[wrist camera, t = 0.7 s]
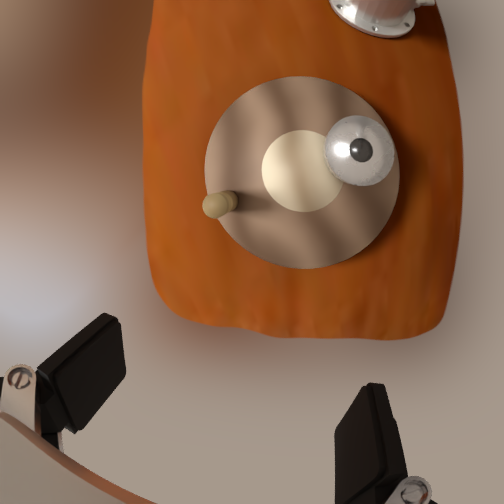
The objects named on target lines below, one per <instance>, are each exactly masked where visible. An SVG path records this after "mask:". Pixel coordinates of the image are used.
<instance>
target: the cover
mask: <svg viewBox="0 0 504 504" xmlns="http://www.w3.org/2000/svg"><path fill="white" fill-rule="evenodd" d="M322 152H323V159H324V162H325V164H326V166H327V168H328V170H329V171H330V172H331V174H332V175H333V176H335V177H336V178H337V179H339V180H340V181H342V182H345V183H348V184H352V185H357V186H369V185H373V184H376V183H378V182H380V181H381V180H382V179H384V178H385V177H386V176H387V175H388V173H389V172H390V170H391V168H392V165H393V162H394V146H393V143H392V140H391V138H390V136H389V134H388V132H387V131H386V130H385V128H384V127H383V126H382V125H380V124H379V123H378V122H376V121H375V120H373V119H371V118H368V117H365V116H357V115H355V116H349V117H345V118H343V119H341V120H339V121H338V122H337V123H336V124H335V125H334V126H333V127H332V128H331V130H330V131H329V133H328V134H327V136H326V137H325V140H324V143H323V150H322Z"/></svg>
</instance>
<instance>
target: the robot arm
mask: <svg viewBox="0 0 504 504" xmlns="http://www.w3.org/2000/svg"><path fill="white" fill-rule="evenodd" d="M329 2H330V4H331V7H332V8H333V10H334V11H335V13H336V14H337V15H338V16H339V17H340V18H341V19H342V20H344V21H345V22H346V23H348V24H349V25H351V26H352V27H354V28H356V29H358V30H360V31H362V32H364V33H367V34H370V35H373V36H377V37H384V38H396V37H400V36H403V35H405V34H407V33H408V32H409V31H410V30H411V28H412V27H413V26H414V23H415V13H414V8H418V7H420V5H423V6H434V5H435V1H434V0H329ZM37 369H38V370H37V371H36V372H34V370H33V369H32V368H31V367H30V366H27V365H23V364H19V365H15V366H12V367H11V368H9V369H8V370H7V372H6V373H5V376H4V377H0V504H156V503H154V502H151V501H149V500H147V499H144V498H142V497H140V496H138V495H135V494H133V493H131V492H129V491H127V490H125V489H122V488H121V487H119V486H117V485H115V484H113V483H111V482H109V481H107V480H105V479H104V478H102V477H100V476H98V475H96V474H95V473H93V472H92V471H90V470H88V469H87V468H85V467H84V466H82V465H80V464H79V463H77V462H76V461H74V460H73V459H71V458H70V457H68V456H67V455H65V454H64V450H63V443H62V433H61V431H62V430H63V429H64V428H66V429H68V430H69V431H71V432H72V433H74V434H75V433H76V432H77V431H78V430H82V429H83V428H84V427H85V426H86V425H87V424H88V422H89V421H90V420H91V419H92V417H93V416H94V415H95V413H96V412H97V411H98V410H99V409H100V407H101V406H102V405H103V404H104V402H105V401H106V400H107V399H108V397H109V396H110V395H111V394H112V392H113V391H114V390H115V389H116V387H117V386H118V385H119V384H120V382H121V381H122V380H123V379H124V377H125V375H126V366H125V359H124V350H123V341H122V331H121V324H120V323H119V322H118V319H117V318H116V317H114V316H112V315H109V314H107V313H103V314H101V315H100V316H99V317H97V318H96V319H95V320H94V321H92V322H91V323H90V324H89V325H87V326H86V327H85V328H84V329H82V330H81V331H80V332H79V333H78V334H76V335H75V336H74V337H72V338H71V339H70V340H69V341H68V342H66V343H65V344H64V345H63V346H62V347H60V348H59V349H58V350H57V351H56V352H54V353H53V354H52V355H51V356H50V357H49V358H47V359H46V360H45V361H44V362H43V363H42V364H40V365H39V366H38V367H37ZM334 438H335V504H437V503H436V502H434V501H432V500H431V496H432V490H431V487H430V485H429V483H428V482H427V481H426V480H425V479H424V478H421V477H419V476H410V477H408V473H407V468H406V463H405V458H404V453H403V449H402V444H401V440H400V435H399V431H398V427H397V424H396V421H395V419H394V418H393V415H392V411H391V407H390V403H389V400H388V396H387V392H386V388H385V386H384V384H378V383H368V384H367V385H366V386H363V387H362V388H361V390H360V392H359V393H358V395H357V396H356V398H355V400H354V401H353V403H352V404H351V406H350V408H349V409H348V411H347V412H346V414H345V415H344V417H343V418H342V420H341V422H340V423H339V424H338V426H337V427H336V430H335V435H334Z"/></svg>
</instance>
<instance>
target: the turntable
mask: <svg viewBox="0 0 504 504" xmlns="http://www.w3.org/2000/svg"><path fill="white" fill-rule="evenodd" d="M355 115H357V116H365V117H368V118H371V119H373V120H375V121H376V122H378V123H379V124H380V125H382V126H383V127H384V128H385V130H386V131H387V132H388V134H389V136H390V138H391V140H392V143H393V146H394V162H393V165H392V168H391V170H390V172H389V173H388V175H387V176H386V177H385V178H384V179H382V180H381V181H380V182H378V183H376V184H373V185H369V186H357V185H352V184H348V183H345V182H342V181H340V180H339V179H337V178H336V177H335V176H333V175H332V174H331V172H330V171H329V170H328V168H327V166H326V164H325V162H324V159H323V152H322V150H323V143H324V140H325V137H326V136H327V134H328V133H329V131H330V130H331V128H332V127H333V126H334V125H335V124H336V123H337V122H338V121H339V120H341V119H343V118H345V117H349V116H355ZM399 179H400V176H399V162H398V156H397V151H396V148H395V145H394V142H393V139H392V137H391V135H390V133H389V131H388V128H387V127H386V125H385V124H384V122H383V121H382V119H381V117H380V116H379V115H378V114H377V113H376V111H375V110H374V109H373V108H372V107H371V106H370V105H369V104H368V103H367V102H366V101H365V100H363V99H362V98H361V97H359V96H358V95H357V94H355V93H354V92H352V91H351V90H349V89H347V88H345V87H343V86H341V85H339V84H336V83H333V82H331V81H328V80H324V79H319V78H314V77H304V76H298V77H285V78H280V79H275V80H272V81H269V82H266V83H263V84H261V85H259V86H257V87H254V88H252V89H251V90H249V91H248V92H246V93H245V94H243V95H242V96H240V97H239V98H238V99H237V100H236V101H235V102H234V103H232V104H231V106H230V107H229V108H228V109H227V110H226V111H225V112H224V114H223V115H222V117H221V118H220V120H219V121H218V123H217V124H216V126H215V128H214V130H213V133H212V135H211V138H210V141H209V144H208V147H207V152H206V158H205V182H206V188H207V193H208V196H206V198H205V199H204V201H203V210H204V212H205V214H206V215H207V216H209V217H210V218H218V220H219V221H220V223H221V224H222V226H223V227H224V229H225V230H226V231H227V232H228V233H229V234H230V236H231V237H232V238H233V239H234V240H235V241H236V242H237V243H239V244H240V245H241V246H242V247H243V248H245V249H246V250H247V251H249V252H250V253H252V254H253V255H255V256H257V257H259V258H261V259H263V260H265V261H268V262H271V263H273V264H276V265H280V266H284V267H289V268H298V269H312V268H320V267H326V266H329V265H333V264H336V263H339V262H341V261H344V260H346V259H348V258H350V257H352V256H353V255H355V254H357V253H359V252H360V251H361V250H363V249H364V248H365V247H366V246H368V245H369V244H370V243H371V242H372V241H373V240H374V239H375V238H376V237H377V236H378V234H379V233H380V232H381V230H382V229H383V228H384V226H385V225H386V223H387V221H388V219H389V217H390V215H391V213H392V211H393V208H394V205H395V203H396V199H397V194H398V189H399Z"/></svg>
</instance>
